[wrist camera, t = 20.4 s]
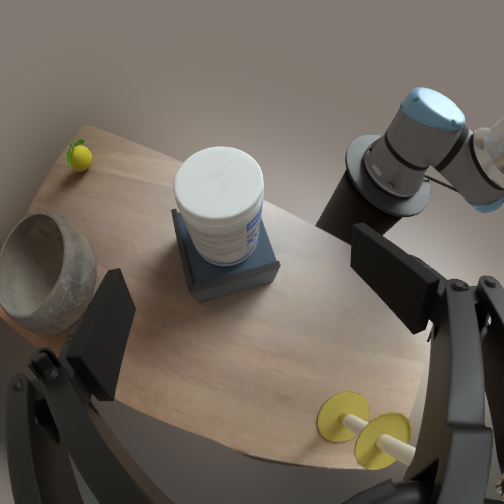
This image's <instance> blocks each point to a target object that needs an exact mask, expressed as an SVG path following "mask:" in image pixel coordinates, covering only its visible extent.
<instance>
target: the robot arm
mask: <svg viewBox="0 0 504 504" xmlns="http://www.w3.org/2000/svg"><path fill="white" fill-rule="evenodd" d="M400 106H401V107H400V109H399V111H398V112H397V114H396V116H395V118H394V119H393V121H392V123H391V124H390V126H389V128H388V129H387V131H386V133H385V134H384V135H383V136H381V137H380V138H379V139H377V140H376V141H374V142H373V143H372V144H370V145H369V146H368V147H367V149H366V151H365V153H364V155H363V167H364V170H365V172H366V174H367V176H368V178H369V179H370V180H371V182H372V183H373V184H374V185H375V186H376V187H377V188H378V189H379V190H381V191H382V192H384V193H385V194H387V195H389V196H391V197H393V198H397V199H408V198H411V197H412V196H414V195H415V194H416V193H417V192H418V191H419V189H420V187H421V185H422V181H423V179H424V177H425V178H428V179H430V180H432V181H434V182H436V183H439V184H441V185H443V186H445V187H448V188H450V189H452V190H454V191H456V192H458V193H460V194H461V195H462V196H463V197H464V198H465V200H466V201H467V202H468V203H469V204H471V205H472V206H473V207H474V208H475V209H476V210H478V211H479V212H482V213H489V212H492V211H495V210H497V209H498V208H500V207H501V206H502V203H503V202H504V116H503V117H502V118H501V119H500V120H499V121H498V122H497V123H496V124H495V125H494V126H493V127H492V128H491V129H488V128H479V129H477V130H476V131H475V132H474V133H473V132H472V131H470V130H469V129H468V128H467V127H466V126H465V117H464V115H463V113H462V111H461V110H460V109H458V108H457V105H455V104H454V103H453V102H452V101H451V100H449V99H448V98H447V97H445V96H444V95H442V94H440V93H438V92H436V91H434V90H431V89H427V88H421V87H420V88H414V89H412V90H411V91H410V92H409V93H408V95H407V96H406V98H405V99H404V100H403V101H402V103H401V105H400ZM430 165H431V166H433V167H434V168H435V169H436V170H437V171H438V172H439V173H440V174H441V175H442V176H443V177H444V178H445V179H446V180H447V181H448V182H449V183H450V184H451V185H452V186H453V187H451V186H450V185H447V184H445V183H443V182H441V181H438V180H436V179H434V178H432V177H429V176H428V175H425V173H426V170H427V168H428V167H429V166H430ZM350 267H351V268H352V269H353V270H354V271H355V272H356V273H357V274H358V275H359V276H360V277H361V278H362V279H363V280H364V281H365V282H366V283H367V284H368V285H369V286H370V287H371V288H372V290H373V291H374V292H375V293H376V294H377V295H378V296H379V297H380V298H381V299H382V300H383V301H384V302H385V303H386V305H387V306H388V307H389V308H390V309H391V310H392V311H393V312H394V313H395V314H396V316H397V317H398V318H399V319H400V320H401V321H402V322H403V323H404V325H405V326H406V327H407V328H408V329H409V330H410V331H411V333H412V334H413V335H414V334H417V333H419V332H421V331H423V330H425V329H426V326H427V323H428V320H430V321H431V322H432V323H433V326H432V329H431V331H430V334H429V337H428V340H427V342H429V340H430V339H431V351H430V366H429V377H428V385H427V393H426V400H425V407H424V413H423V419H422V424H421V428H420V433H419V438H418V442H417V446H416V450H415V454H414V457H413V460H412V462H411V463H410V465H409V467H408V469H407V471H406V473H405V475H404V478H403V481H398V482H392V480H391V479H388V480H386V481H384V482H382V483H380V484H378V485H376V486H373V487H371V488H369V489H367V490H364V491H362V492H360V493H358V494H356V495H355V496H353V497H352V498H350V499H348V500H347V501H345V502H344V503H342V504H504V289H503V287H502V286H501V284H500V283H499V282H498V281H497V280H496V279H495V278H493V277H491V276H481V277H480V279H479V282H478V285H477V286H470V287H469V285H468V284H467V283H466V282H463V281H462V280H459V279H450V280H447V279H446V278H444V277H443V276H442V275H441V274H439V273H438V272H437V271H435V270H434V269H433V268H431V267H430V266H429V265H427V264H426V263H425V262H423V261H422V260H421V259H419V258H417V257H415V256H412V255H409V254H407V253H406V252H404V251H403V250H402V249H400V248H399V247H398V246H396V245H395V244H393V243H392V242H391V241H389V240H388V239H386V238H385V237H383V236H382V235H381V234H379V233H378V232H376V231H375V230H373V229H372V228H370V227H369V226H367V225H366V224H364V223H358V224H353V225H352V243H351V264H350ZM135 310H136V307H135V305H134V303H133V300H132V298H131V295H130V293H129V290H128V288H127V285H126V283H125V280H124V278H123V275H122V272H121V270H120V268H118V269H113V270H108V272H107V273H106V275H105V277H104V279H103V280H102V282H101V284H100V286H99V288H98V290H97V291H96V293H95V295H94V297H93V299H92V301H91V303H90V305H89V307H88V309H87V311H86V313H85V315H84V317H83V319H82V321H78V322H77V323H76V324H75V325H74V326H73V327H72V329H71V331H70V333H69V335H68V337H67V339H66V341H65V343H64V345H63V348H62V350H61V352H60V354H59V356H58V358H57V357H56V355H55V354H54V352H53V351H52V350H51V348H48V347H43V348H40V349H38V350H37V351H36V352H34V353H33V354H32V356H31V357H30V359H29V362H28V366H29V368H30V369H31V370H32V372H33V373H34V374H35V375H36V377H37V379H34V380H31V381H30V380H29V379H28V378H27V377H26V376H25V374H23V373H20V374H16V375H15V376H13V377H12V378H11V379H10V381H9V383H8V386H7V397H6V446H7V458H8V467H9V475H10V481H11V487H12V493H13V497H14V502H15V504H84V503H83V500H82V498H81V495H80V492H79V489H78V486H77V483H76V480H75V477H74V473H73V470H72V466H71V463H70V459H69V455H68V452H69V454H70V455H71V457H72V459H73V461H74V463H75V465H76V467H77V468H78V470H79V472H80V474H81V475H82V477H83V478H84V480H85V482H86V484H87V485H88V487H89V488H90V490H91V491H92V493H93V494H94V496H95V497H96V499H97V500H98V502H99V503H100V504H174V503H173V502H172V501H171V500H170V499H169V498H168V497H167V496H166V495H165V494H164V493H163V492H162V491H161V490H160V489H159V488H158V487H157V486H156V485H155V484H154V483H153V482H152V480H151V479H150V478H149V477H148V476H147V475H146V474H145V473H144V472H143V470H142V469H141V468H140V467H139V466H138V464H137V463H136V462H135V461H134V460H133V458H132V457H131V456H130V455H129V453H128V452H127V451H126V450H125V448H124V447H123V446H122V445H121V443H120V442H119V440H118V439H117V438H116V436H115V435H114V434H113V432H112V431H111V429H110V428H109V426H108V425H107V424H106V422H105V421H104V419H103V418H102V416H101V415H100V413H99V411H98V410H97V408H96V407H95V405H94V404H93V403H92V401H91V400H90V399H91V395H92V393H93V395H94V396H95V397H96V398H97V399H98V401H114V396H115V391H116V386H117V382H118V377H119V372H120V368H121V364H122V359H123V355H124V351H125V347H126V343H127V339H128V336H129V332H130V328H131V324H132V321H133V317H134V314H135ZM489 317H491V324H490V325H489V323H488V319H489ZM485 392H486V396H487V400H488V405H489V409H490V414H491V419H492V425H493V430H494V437H495V444H496V451H497V457H498V462H499V466H500V470H501V473H502V478H501V479H500V480H499V481H498V482H497V484H496V492H497V493H502V494H501V498H500V500H494V499H488V498H485V494H486V488H487V484H488V478H489V472H490V465H491V458H492V448H493V431H492V429H491V428H489V427H486V426H485V422H484V419H485ZM67 450H68V451H67Z"/></svg>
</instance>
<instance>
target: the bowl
mask: <svg viewBox="0 0 504 504" xmlns="http://www.w3.org/2000/svg"><path fill="white" fill-rule="evenodd" d="M96 272H97V271H96V261H95V256H94V253H93V250H92V248H91V246H90V244H89V242H88V240H87V239H86V237H85V236H84V235H83V233H82V232H81V231H80V230H79V229H78V228H77V227H76V226H75V224H73V223H72V222H71V221H69V220H68V219H67V218H65V217H63V216H61V215H59V214H57V213H54V212H48V211H37V212H34V213H31V214H29V215H27V216H26V217H24V218H23V219H22V220H20V221H19V222H18V223H17V225H16V226H15V227H14V228H13V229H12V230H11V232H10V233H9V235H8V236H7V238H6V240H5V242H4V244H3V246H2V249H1V251H0V304H1V306H2V308H3V309H4V311H5V312H6V313H7V315H8V316H9V317H10V318H11V319H12V320H14V321H15V322H16V323H17V324H19V325H20V326H21V327H23V328H24V329H26V330H28V331H30V332H34V333H38V334H44V335H51V334H56V333H59V332H62V331H64V330H66V329H67V328H69V327H70V326H72V325H73V324H74V323H75V322H76V321H77V320H78V319H79V318H80V317H81V316H82V314H83V313H84V311H85V310H86V308H87V306H88V304H89V302H90V300H91V298H92V295H93V290H94V286H95V283H96Z"/></svg>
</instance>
